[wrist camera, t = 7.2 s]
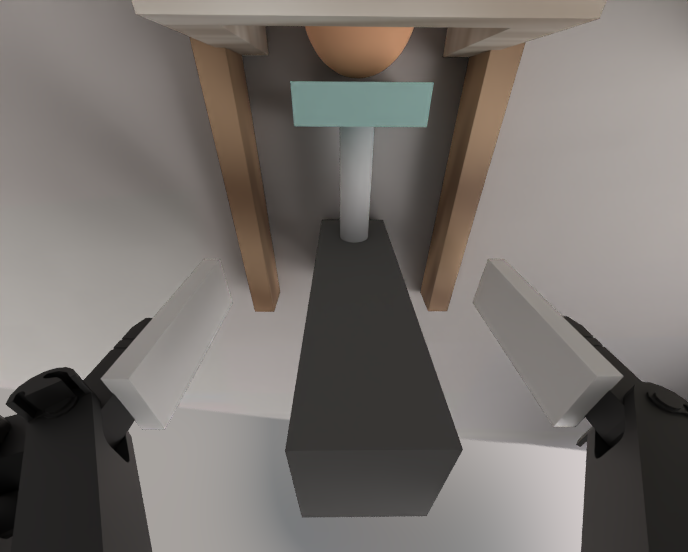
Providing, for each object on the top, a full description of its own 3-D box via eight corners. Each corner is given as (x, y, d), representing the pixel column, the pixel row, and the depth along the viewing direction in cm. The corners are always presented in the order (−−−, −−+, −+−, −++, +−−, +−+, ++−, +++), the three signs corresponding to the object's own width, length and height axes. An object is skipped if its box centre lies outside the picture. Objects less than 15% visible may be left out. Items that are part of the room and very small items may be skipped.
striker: (384, 277, 17) (442, 515, 7) (317, 277, 17) (286, 517, 7) (405, 87, 12) (763, 19, 2) (306, 87, 12) (105, 13, 2)
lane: (437, 292, 19) (477, 371, 13) (262, 292, 18) (230, 372, 13) (580, -276, 7) (1218, -1274, 2) (143, -285, 7) (-422, -1387, 2)
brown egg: (447, -55, 7) (428, -117, 8) (285, -57, 6) (296, -119, 8) (409, 103, 10) (400, 40, 12) (306, 102, 10) (310, 39, 12)
